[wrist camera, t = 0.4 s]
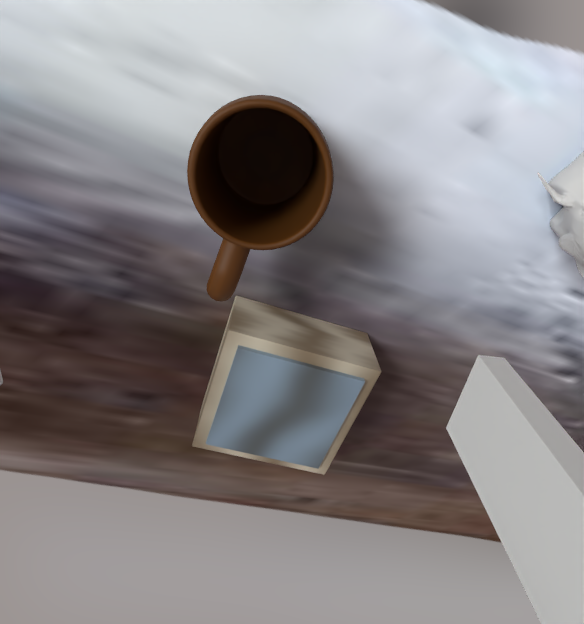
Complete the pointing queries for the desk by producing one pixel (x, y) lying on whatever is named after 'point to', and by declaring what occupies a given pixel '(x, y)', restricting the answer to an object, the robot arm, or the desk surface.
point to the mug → (257, 181)
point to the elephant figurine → (569, 209)
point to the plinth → (285, 387)
